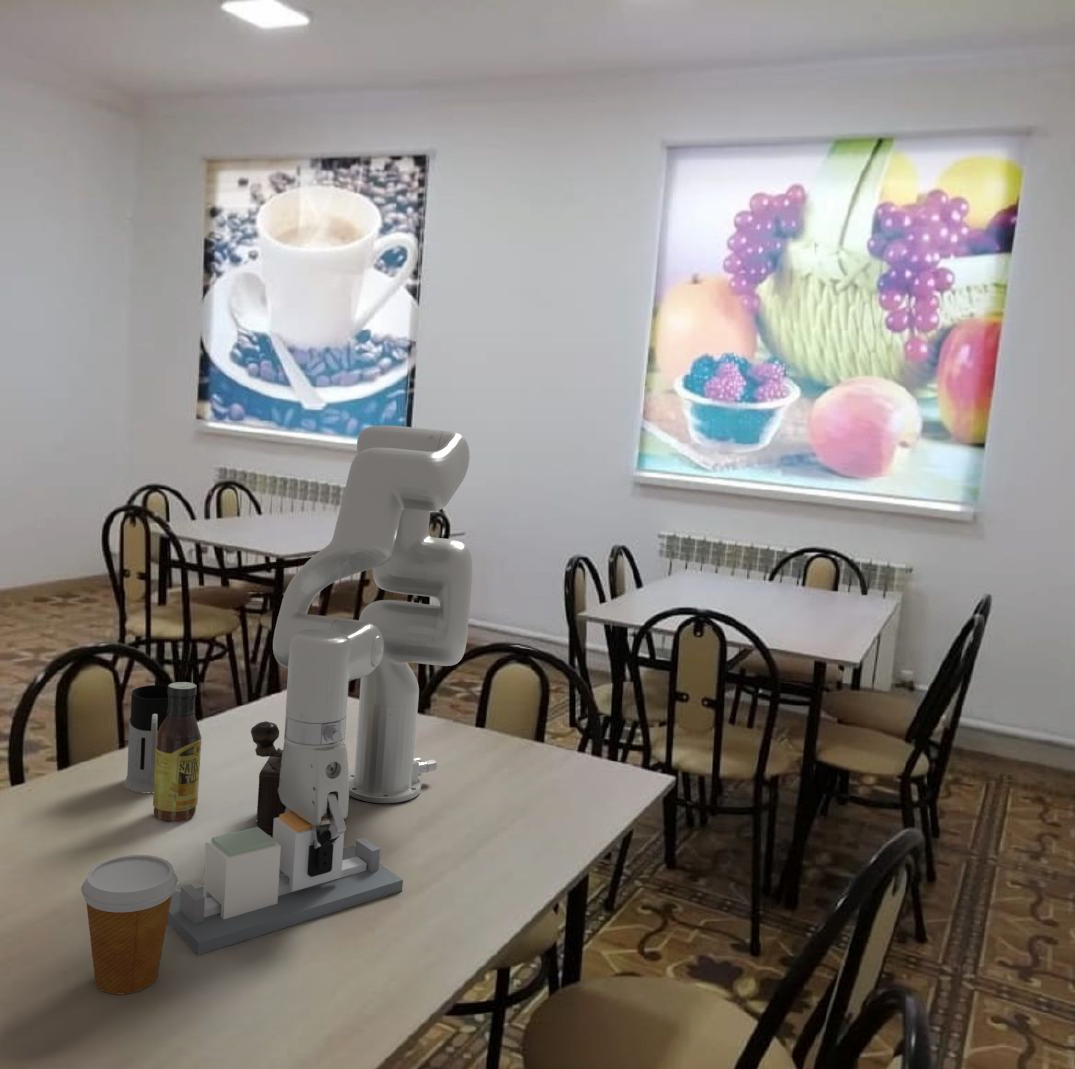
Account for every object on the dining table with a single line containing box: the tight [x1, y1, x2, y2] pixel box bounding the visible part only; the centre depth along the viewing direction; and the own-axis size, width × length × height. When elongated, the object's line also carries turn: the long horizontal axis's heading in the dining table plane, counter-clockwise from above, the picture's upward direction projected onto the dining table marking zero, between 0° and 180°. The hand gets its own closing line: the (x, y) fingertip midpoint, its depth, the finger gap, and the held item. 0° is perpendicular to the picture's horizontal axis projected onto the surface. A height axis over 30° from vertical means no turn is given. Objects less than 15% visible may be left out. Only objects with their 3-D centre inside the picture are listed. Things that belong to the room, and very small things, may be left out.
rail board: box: [167, 826, 404, 956], centre depth 128 cm, size 28×12×10 cm, turn 132°
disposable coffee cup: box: [81, 854, 179, 995], centre depth 108 cm, size 10×10×12 cm
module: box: [272, 811, 346, 892], centre depth 129 cm, size 7×6×8 cm
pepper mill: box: [250, 720, 284, 837], centre depth 147 cm, size 16×11×18 cm
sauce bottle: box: [152, 681, 202, 823], centre depth 149 cm, size 6×6×20 cm
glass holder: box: [123, 684, 169, 794], centre depth 158 cm, size 9×14×15 cm, turn 18°
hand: (307, 862), depth 130 cm, fingers closed on module, 5 cm apart
